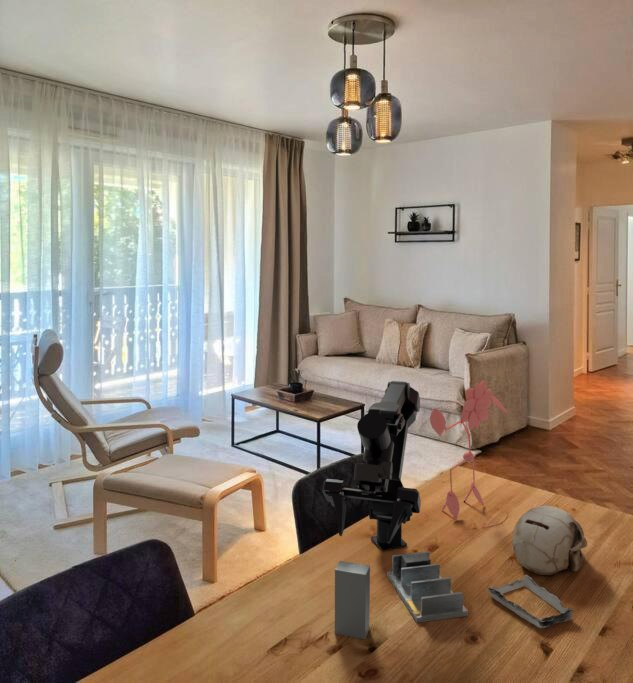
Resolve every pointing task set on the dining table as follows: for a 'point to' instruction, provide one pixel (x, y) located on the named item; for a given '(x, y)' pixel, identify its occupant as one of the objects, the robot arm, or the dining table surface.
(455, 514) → the figurine
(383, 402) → the robot arm
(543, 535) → the coin bank
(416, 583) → the rack
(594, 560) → the dining table surface
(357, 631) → the block
